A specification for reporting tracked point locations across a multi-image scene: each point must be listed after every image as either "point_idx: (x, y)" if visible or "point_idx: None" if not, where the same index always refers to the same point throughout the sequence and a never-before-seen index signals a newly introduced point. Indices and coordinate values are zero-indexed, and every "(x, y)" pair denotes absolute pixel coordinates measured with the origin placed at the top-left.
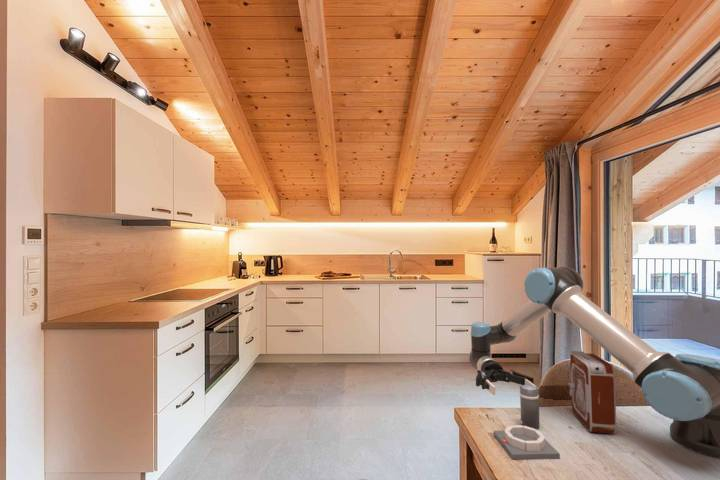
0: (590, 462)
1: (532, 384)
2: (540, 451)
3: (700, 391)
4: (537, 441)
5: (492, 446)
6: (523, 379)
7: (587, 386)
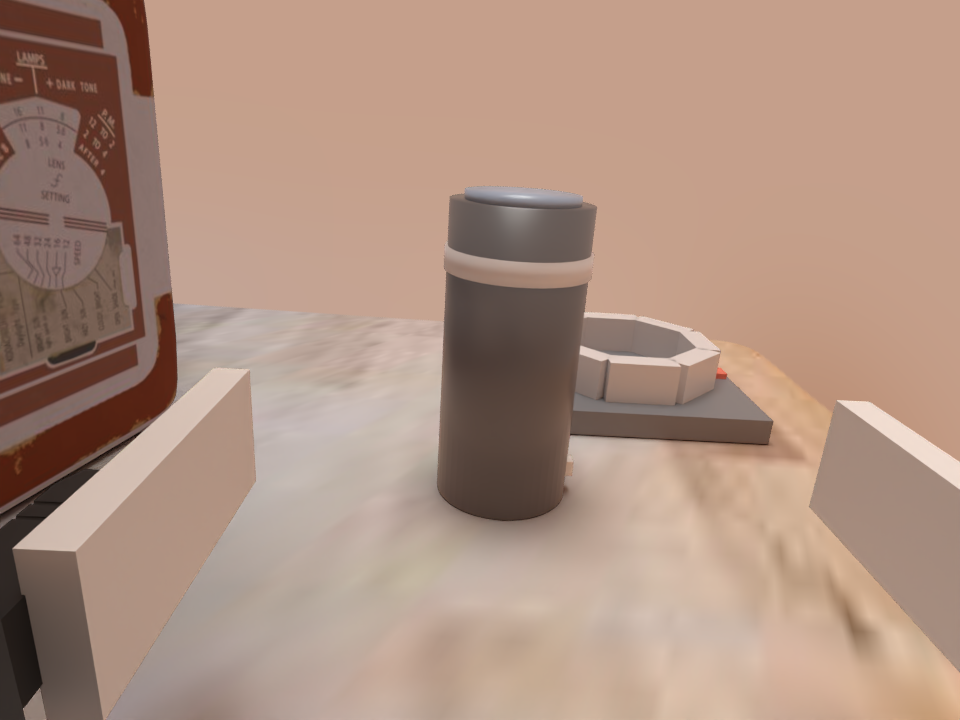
0: (405, 337)
1: (213, 395)
2: None
3: None
4: (584, 315)
5: (769, 400)
6: (9, 656)
7: (149, 111)
